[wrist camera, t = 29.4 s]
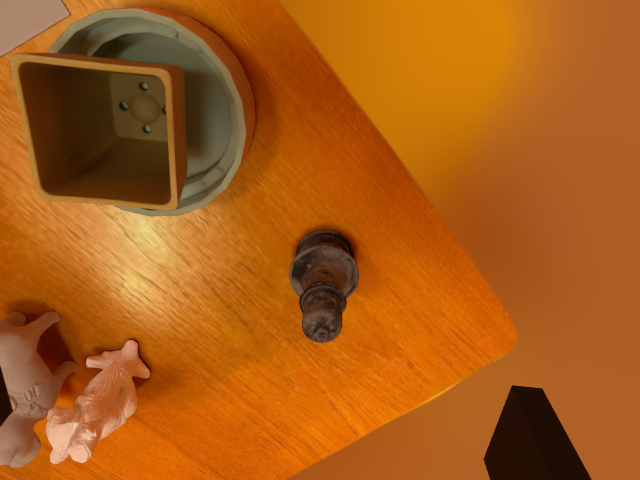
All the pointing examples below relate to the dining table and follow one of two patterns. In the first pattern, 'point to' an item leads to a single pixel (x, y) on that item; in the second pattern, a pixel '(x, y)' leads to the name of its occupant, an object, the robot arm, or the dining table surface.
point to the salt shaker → (323, 282)
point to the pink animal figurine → (97, 405)
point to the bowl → (200, 89)
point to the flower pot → (103, 129)
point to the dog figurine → (26, 386)
